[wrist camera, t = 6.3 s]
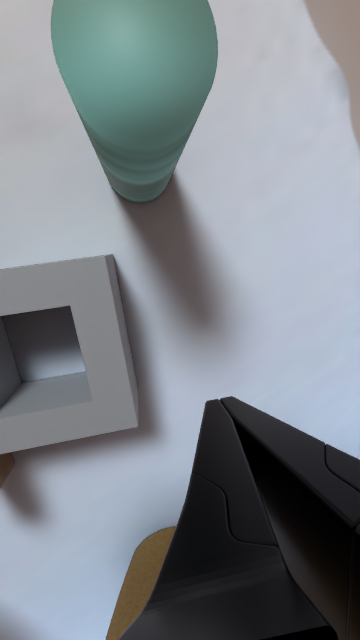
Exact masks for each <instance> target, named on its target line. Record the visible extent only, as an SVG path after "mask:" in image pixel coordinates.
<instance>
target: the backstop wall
mask: <svg viewBox="0 0 360 640" xmlns="http://www.w3.org/2000/svg"><path fill="white" fill-rule="evenodd" d="M13 465H14V461H13V458H12V455H11V452H9V453H4V454H0V488H1V486H2V484H3V483H4V481H5V479H6V477H7V476H8V474H9V472H10V470H11V469H12V467H13Z"/></svg>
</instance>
